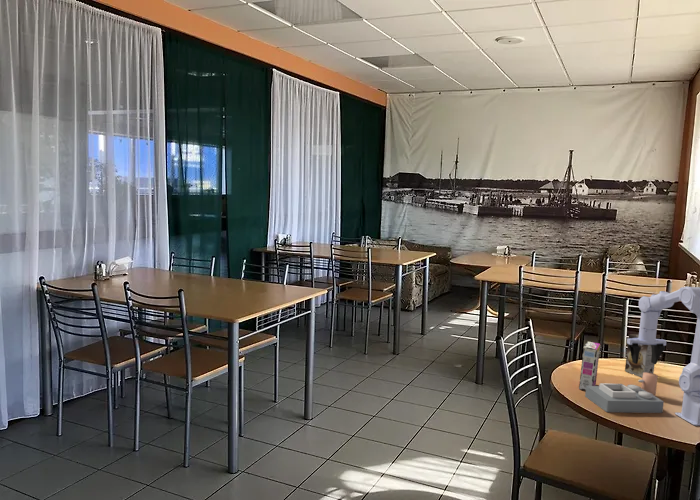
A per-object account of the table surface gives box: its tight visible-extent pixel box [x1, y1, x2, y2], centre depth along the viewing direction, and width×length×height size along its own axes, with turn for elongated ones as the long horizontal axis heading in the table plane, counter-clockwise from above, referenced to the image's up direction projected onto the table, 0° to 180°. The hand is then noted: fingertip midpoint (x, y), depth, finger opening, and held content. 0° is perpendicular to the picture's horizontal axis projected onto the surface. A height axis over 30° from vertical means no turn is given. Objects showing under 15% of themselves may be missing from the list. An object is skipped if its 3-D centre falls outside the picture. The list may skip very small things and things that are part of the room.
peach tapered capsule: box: [637, 372, 659, 397], centre depth 201 cm, size 5×7×8 cm
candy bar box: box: [578, 341, 601, 392], centre depth 207 cm, size 11×5×16 cm, turn 149°
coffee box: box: [624, 333, 656, 378], centre depth 226 cm, size 9×6×16 cm
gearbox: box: [584, 382, 664, 414], centre depth 191 cm, size 14×20×6 cm
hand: (644, 363), depth 208 cm, fingers open, 7 cm apart
